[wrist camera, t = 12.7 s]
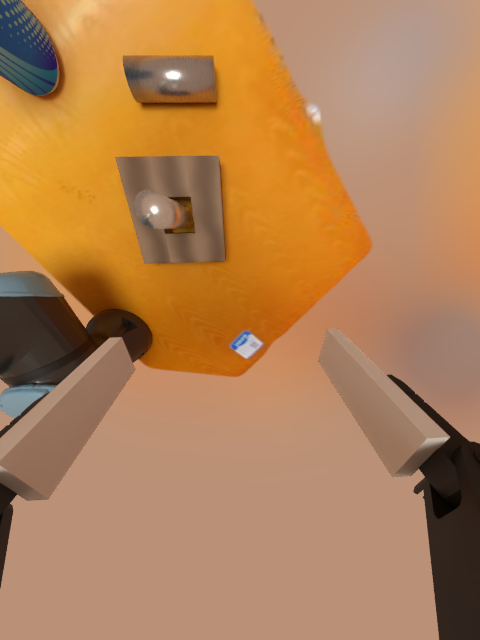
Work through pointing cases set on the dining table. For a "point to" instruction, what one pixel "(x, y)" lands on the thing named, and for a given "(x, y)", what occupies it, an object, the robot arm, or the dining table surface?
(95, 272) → the dining table surface
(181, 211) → the peg
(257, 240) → the dining table surface
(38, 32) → the beer can
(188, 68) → the lying peg
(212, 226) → the socket block
